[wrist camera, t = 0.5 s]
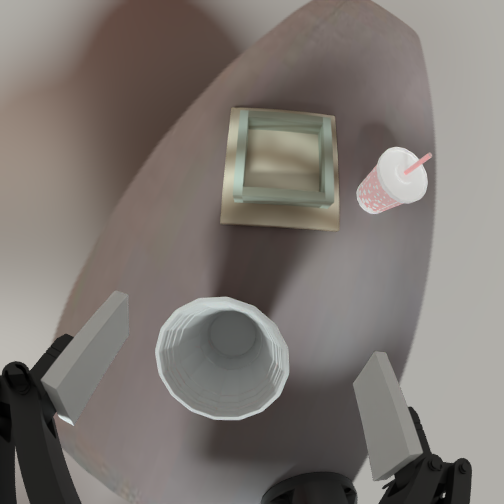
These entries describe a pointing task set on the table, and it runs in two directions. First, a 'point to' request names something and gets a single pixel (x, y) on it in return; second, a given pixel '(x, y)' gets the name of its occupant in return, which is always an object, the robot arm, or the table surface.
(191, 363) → the plastic cup
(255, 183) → the cup stand
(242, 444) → the table surface
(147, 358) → the table surface
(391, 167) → the beverage cup
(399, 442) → the robot arm
